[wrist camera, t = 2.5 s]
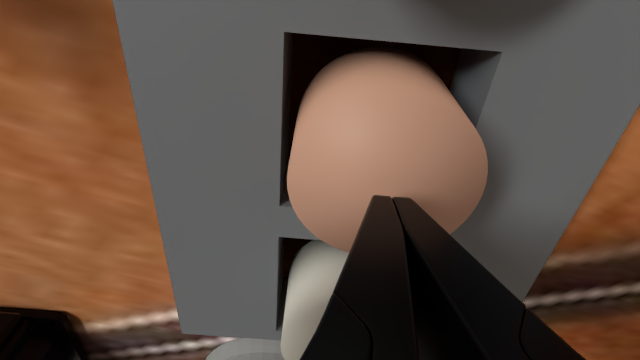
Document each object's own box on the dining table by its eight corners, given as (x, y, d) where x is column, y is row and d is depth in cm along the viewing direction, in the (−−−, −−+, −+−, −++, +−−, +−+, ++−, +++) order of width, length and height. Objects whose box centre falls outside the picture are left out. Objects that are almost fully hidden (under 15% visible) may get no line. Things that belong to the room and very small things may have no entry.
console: (470, 301, 20) (490, 355, 17) (201, 280, 19) (181, 333, 17) (775, -343, 8) (978, -465, 5) (101, -424, 8) (-12, -592, 5)
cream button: (392, 314, 17) (403, 390, 15) (287, 306, 17) (279, 381, 14) (415, 237, 15) (435, 311, 12) (291, 227, 15) (281, 300, 12)
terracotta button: (429, 191, 13) (454, 262, 11) (294, 180, 13) (283, 249, 10) (470, 54, 11) (520, 101, 8) (301, 39, 11) (290, 81, 8)
